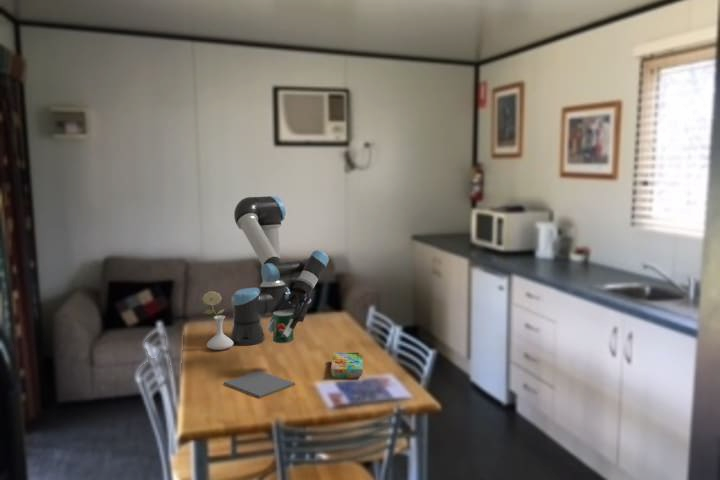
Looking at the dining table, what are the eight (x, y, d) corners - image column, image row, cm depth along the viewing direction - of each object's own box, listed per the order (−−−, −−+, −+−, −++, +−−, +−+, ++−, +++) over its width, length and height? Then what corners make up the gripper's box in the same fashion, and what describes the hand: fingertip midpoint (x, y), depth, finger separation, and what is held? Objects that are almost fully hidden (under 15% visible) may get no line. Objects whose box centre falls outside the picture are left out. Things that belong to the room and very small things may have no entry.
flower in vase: (237, 344, 257) (235, 288, 254) (228, 352, 246) (227, 294, 243) (208, 343, 258) (206, 288, 255) (199, 351, 247) (196, 293, 244)
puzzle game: (330, 367, 213) (333, 350, 233) (330, 379, 214) (333, 361, 234) (362, 366, 213) (362, 350, 233) (362, 379, 214) (362, 361, 234)
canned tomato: (283, 344, 219) (283, 316, 218) (268, 340, 224) (268, 313, 223) (297, 339, 226) (297, 312, 224) (283, 336, 230) (283, 309, 229)
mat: (223, 384, 208) (223, 382, 208) (258, 372, 220) (258, 370, 220) (260, 398, 195) (260, 395, 195) (294, 384, 207) (294, 382, 207)
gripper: (329, 293, 229) (302, 343, 218) (290, 286, 241) (262, 333, 230) (320, 282, 224) (292, 332, 213) (281, 276, 236) (252, 323, 225)
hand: (277, 333), depth 222 cm, fingers closed on canned tomato, 8 cm apart
